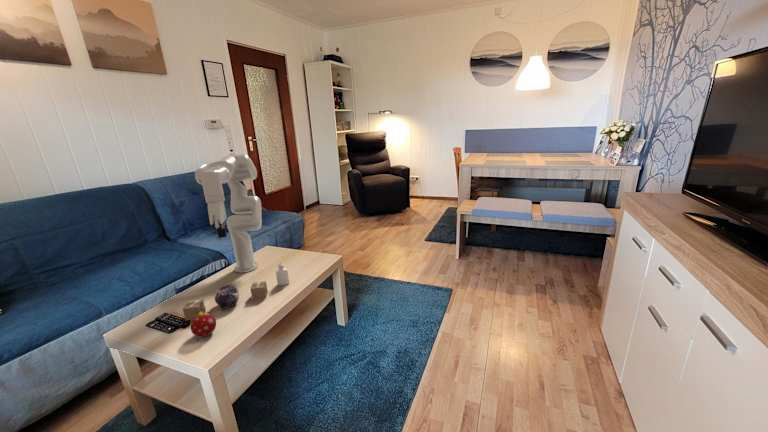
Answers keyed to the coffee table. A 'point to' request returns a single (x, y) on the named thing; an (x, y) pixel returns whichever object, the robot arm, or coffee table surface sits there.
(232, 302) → the mineral specimen
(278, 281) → the eye dropper bottle
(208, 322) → the christmas ornament
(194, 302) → the brown cube
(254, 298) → the walnut block
